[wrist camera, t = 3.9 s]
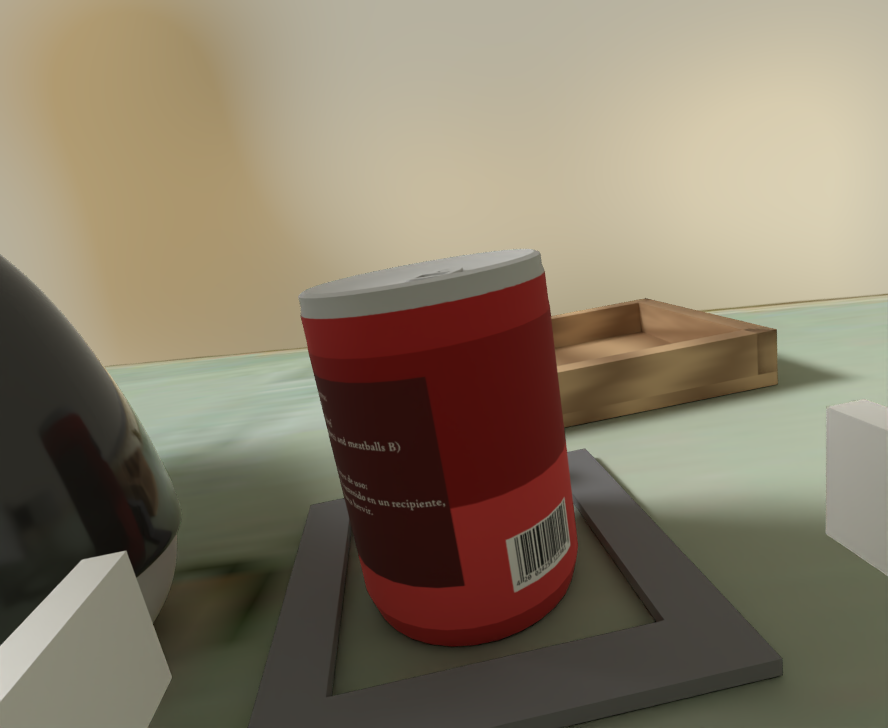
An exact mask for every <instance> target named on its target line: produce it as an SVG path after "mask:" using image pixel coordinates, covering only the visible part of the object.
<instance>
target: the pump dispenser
mask: <svg viewBox="0 0 888 728" xmlns="http://www.w3.org/2000/svg"><path fill="white" fill-rule="evenodd" d="M181 520H182V511H181V506H180V503H179V500H178V497H177V494H176V491H175V489H174V486H173V484H172V481H171V479H170V477H169V474H168V472H167V470H166V468H165V466H164V464H163V462H162V460H161V458H160V457H159V455H158V453H157V451H156V449H155V447H154V445H153V443H152V441H151V440H150V438H149V436H148V434H147V432H146V430H145V429H144V427H143V425H142V423H141V422H140V420H139V418H138V417H137V415H136V413H135V412H134V410H133V408H132V407H131V405H130V404H129V402H128V400H127V399H126V397H125V396H124V394H123V393H122V391H121V390H120V388H119V387H118V385H117V384H116V383H115V381H114V380H113V378H112V377H111V375H110V374H109V373H108V371H107V370H106V368H105V367H104V366H103V364H102V363H101V362H100V360H99V359H98V358H97V356H96V355H95V354H94V352H93V351H92V350H91V348H90V347H89V346H88V344H87V343H86V342H85V340H84V339H83V338H82V337H81V335H80V334H79V333H78V332H77V330H76V329H75V328H74V326H73V325H72V324H71V323H70V322H69V321H68V319H67V318H66V317H65V316H64V315H63V313H62V312H61V311H60V310H59V309H58V308H57V307H56V306H55V304H54V303H53V302H52V301H51V300H50V299H49V298H48V297H47V296H46V295H45V294H44V293H43V292H42V291H41V290H40V289H39V288H38V287H37V286H36V285H35V284H34V283H33V282H32V281H31V280H30V279H29V278H28V277H27V276H26V275H24V273H22V272H21V271H20V270H19V269H18V268H17V267H15V266H14V265H13V264H12V263H11V262H9V261H8V260H7V259H6V258H4V257H3V256H2V255H0V646H1V645H2V644H3V643H4V641H5V640H6V639H7V638H8V637H9V636H10V635H11V634H12V633H13V632H14V631H15V630H16V629H17V628H18V627H19V626H20V625H21V624H22V622H23V621H24V620H25V619H26V618H27V617H28V616H29V615H30V614H31V613H32V612H33V611H34V610H35V609H36V608H37V607H38V606H39V605H40V603H41V602H42V601H43V600H44V599H45V598H46V597H47V596H48V595H49V594H50V593H51V592H52V591H53V590H54V589H55V588H56V587H57V585H58V584H59V583H60V582H61V581H62V580H63V579H64V578H65V577H66V576H67V575H68V574H69V573H70V572H71V571H72V570H73V569H74V568H75V566H76V565H77V564H78V563H79V562H80V561H81V560H83V559H88V558H92V557H97V556H102V555H107V554H112V553H117V552H122V551H127V554H128V557H129V559H130V562H131V565H132V568H133V571H134V573H135V576H136V579H137V582H138V584H139V587H140V590H141V593H142V595H143V598H144V601H145V604H146V606H147V609H148V612H149V615H150V618H151V620H152V623H153V622H154V621H155V619H156V617H157V616H158V614H159V612H160V610H161V608H162V607H163V605H164V602H165V600H166V598H167V596H168V593H169V590H170V588H171V585H172V581H173V577H174V573H175V568H176V561H177V532H178V530H179V527H180V524H181Z"/></svg>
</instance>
